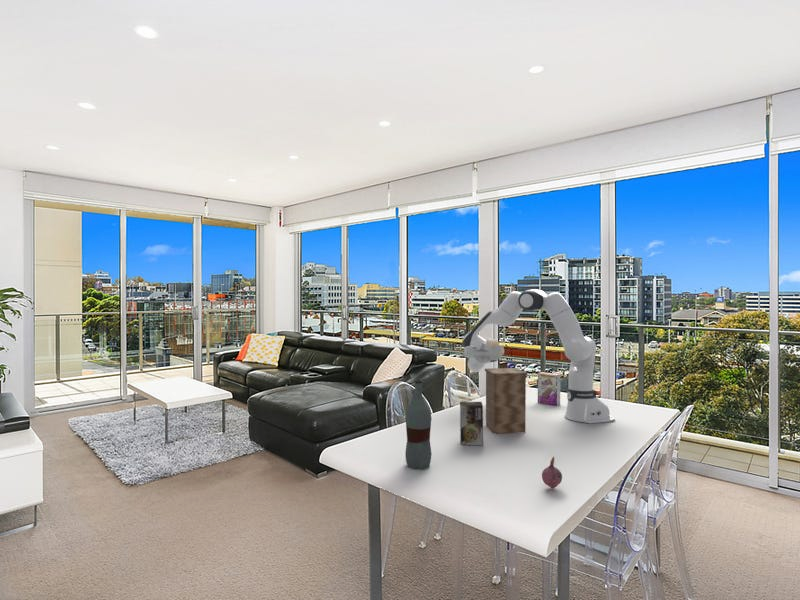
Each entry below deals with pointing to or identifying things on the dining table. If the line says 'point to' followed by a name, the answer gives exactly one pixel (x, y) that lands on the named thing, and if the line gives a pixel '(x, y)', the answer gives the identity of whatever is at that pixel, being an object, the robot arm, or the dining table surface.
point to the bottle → (418, 431)
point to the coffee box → (471, 423)
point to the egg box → (491, 345)
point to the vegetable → (551, 475)
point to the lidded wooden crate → (505, 400)
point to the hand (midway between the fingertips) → (487, 345)
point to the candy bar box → (549, 388)
